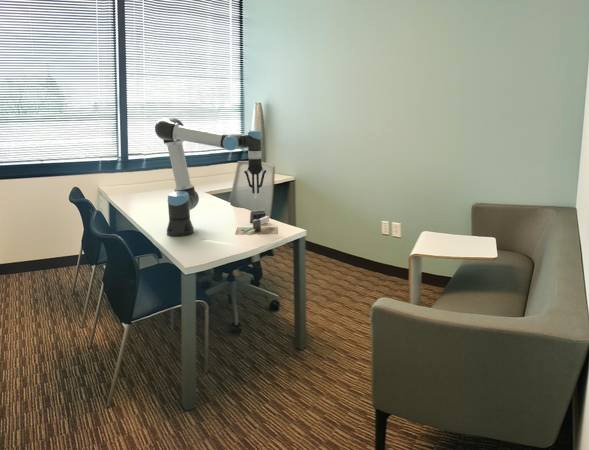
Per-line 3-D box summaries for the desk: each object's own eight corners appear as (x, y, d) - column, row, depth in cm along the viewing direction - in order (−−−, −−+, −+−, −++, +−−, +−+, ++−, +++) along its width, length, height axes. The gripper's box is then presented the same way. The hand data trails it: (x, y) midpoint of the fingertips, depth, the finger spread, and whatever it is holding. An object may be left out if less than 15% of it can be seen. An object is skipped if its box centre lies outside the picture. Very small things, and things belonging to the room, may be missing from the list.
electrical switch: (263, 222, 304) (263, 208, 301) (266, 225, 299) (266, 211, 296) (249, 224, 300) (249, 209, 297) (252, 227, 296) (252, 212, 293)
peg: (251, 234, 271) (250, 224, 269) (244, 233, 273) (244, 223, 271) (271, 226, 289) (270, 216, 288) (264, 225, 291) (264, 215, 290)
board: (234, 236, 272) (234, 233, 272) (237, 229, 288) (237, 226, 287) (277, 236, 273) (277, 233, 272) (277, 229, 288) (277, 226, 288)
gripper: (243, 159, 273) (244, 200, 279) (266, 158, 275) (267, 199, 281) (243, 157, 281) (244, 197, 286) (265, 157, 282) (266, 197, 288)
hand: (255, 198), depth 284 cm, fingers closed
